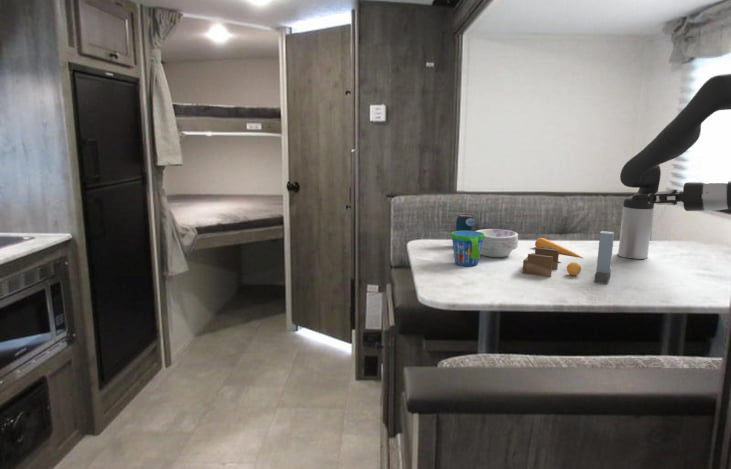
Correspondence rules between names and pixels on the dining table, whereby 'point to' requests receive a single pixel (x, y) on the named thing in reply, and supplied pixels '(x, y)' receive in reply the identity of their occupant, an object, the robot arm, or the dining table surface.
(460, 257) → the snack cup
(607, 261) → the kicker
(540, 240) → the carrot
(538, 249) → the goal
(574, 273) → the ball
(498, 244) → the paper bowls
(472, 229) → the soda can
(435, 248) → the dining table surface
